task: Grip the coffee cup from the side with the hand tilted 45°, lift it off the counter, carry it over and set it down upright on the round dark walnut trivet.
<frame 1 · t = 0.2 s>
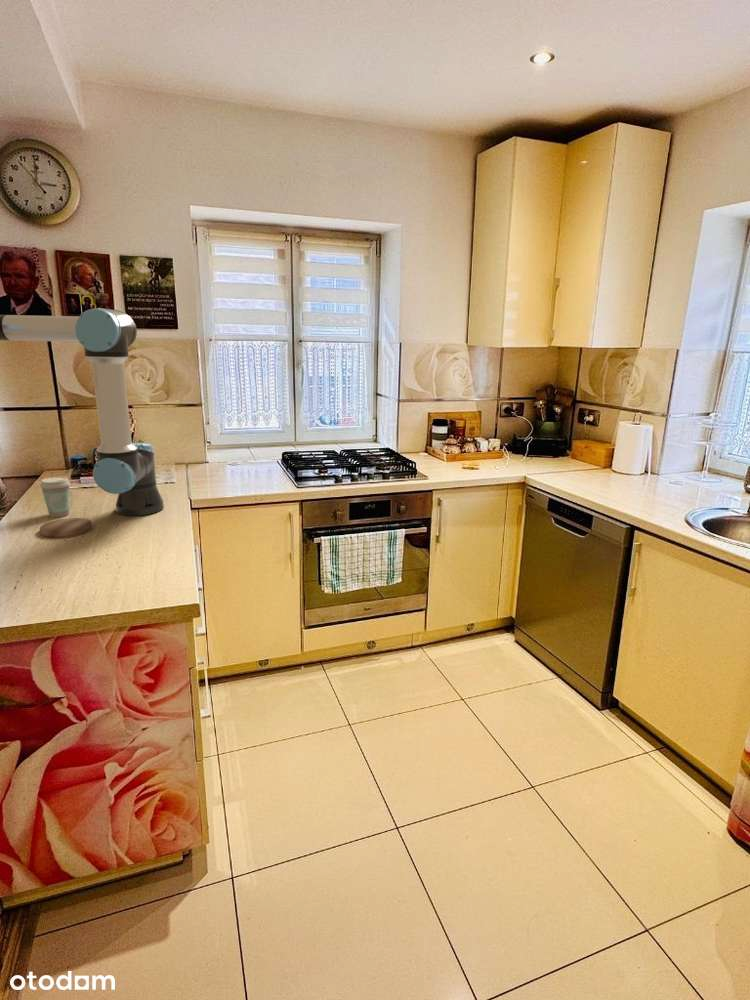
coffee cup: (59, 515, 183), on the countertop
walnut trivet: (66, 529, 170), on the countertop
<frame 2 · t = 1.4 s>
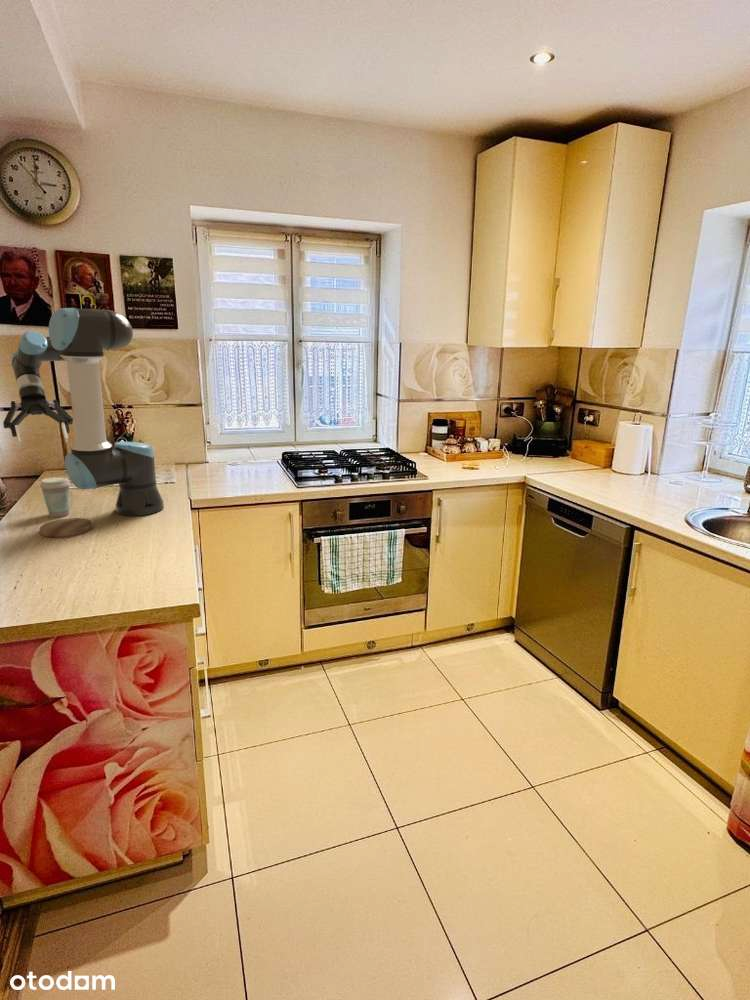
hand: (44, 442, 184), 23 cm above the countertop, tool tilted 45°, fingers open, 13 cm apart
nothing on the countertop moved.
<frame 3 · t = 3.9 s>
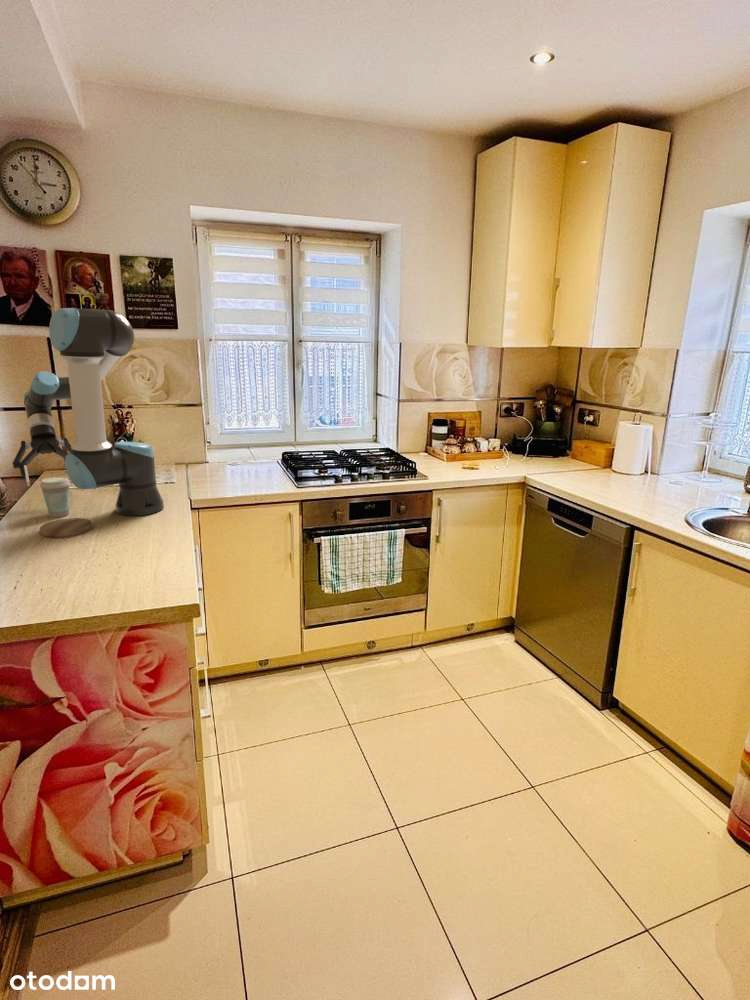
hand: (52, 481, 184), 10 cm above the countertop, tool tilted 45°, fingers open, 13 cm apart
nothing on the countertop moved.
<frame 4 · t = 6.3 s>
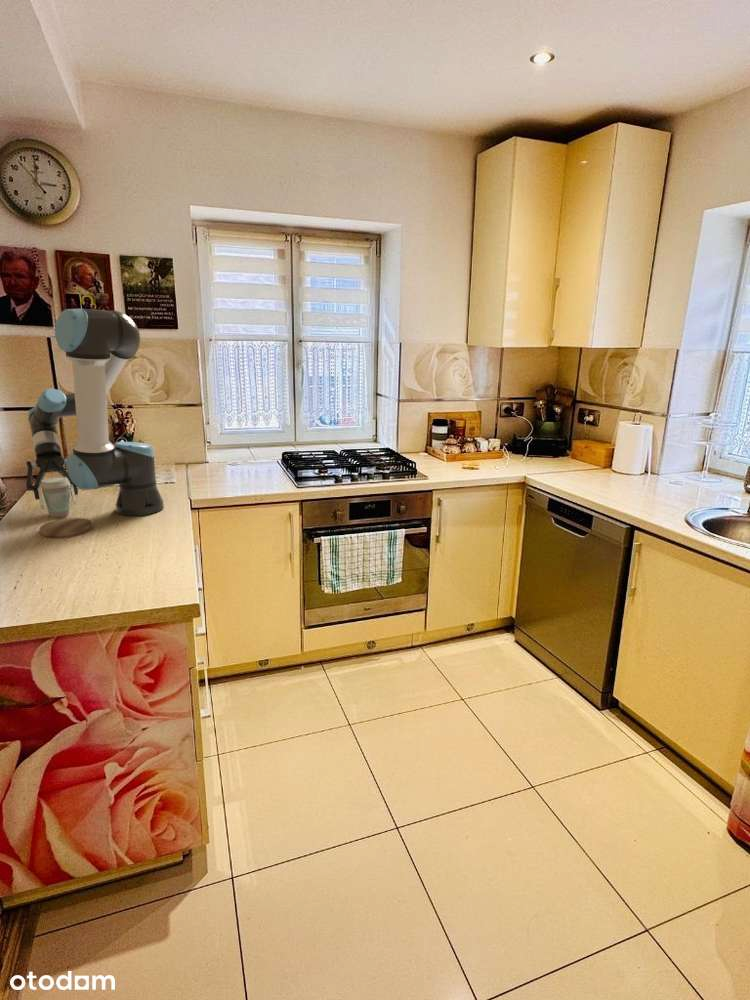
hand: (58, 504, 179), 4 cm above the countertop, tool tilted 45°, fingers closed on coffee cup, 8 cm apart
coffee cup: (59, 515, 183), on the countertop, touching gripper
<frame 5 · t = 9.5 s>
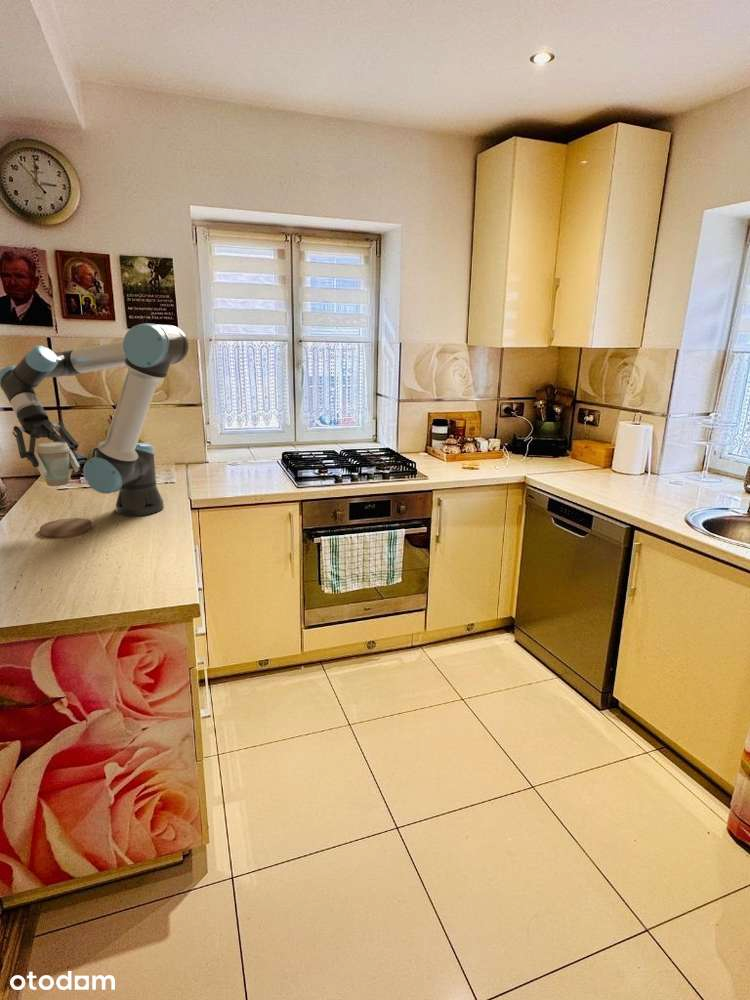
hand: (61, 471, 163), 19 cm above the countertop, tool tilted 45°, fingers closed on coffee cup, 8 cm apart
coffee cup: (58, 484, 166), point 14 cm above the countertop, touching gripper
when the fingers open (7 cm above the countertop, at t = 12.9 s): coffee cup drops 1 cm, resting on walnut trivet.
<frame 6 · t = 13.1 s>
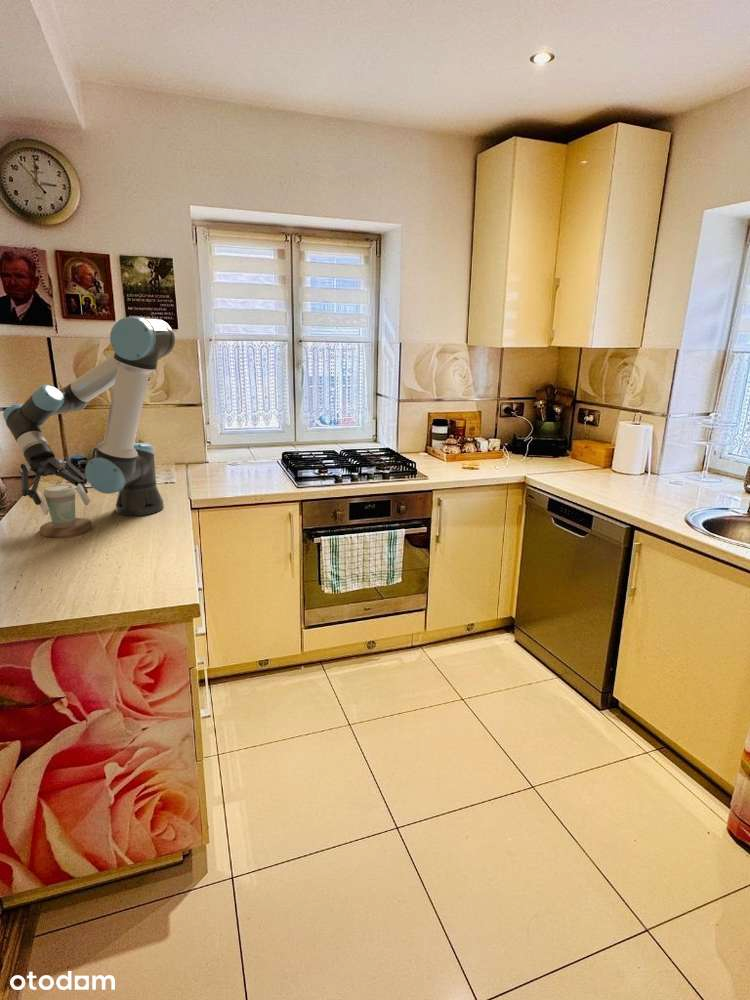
hand: (68, 507, 166), 8 cm above the countertop, tool tilted 45°, fingers open, 11 cm apart
coffee cup: (64, 526, 169), point 1 cm above the countertop, touching walnut trivet
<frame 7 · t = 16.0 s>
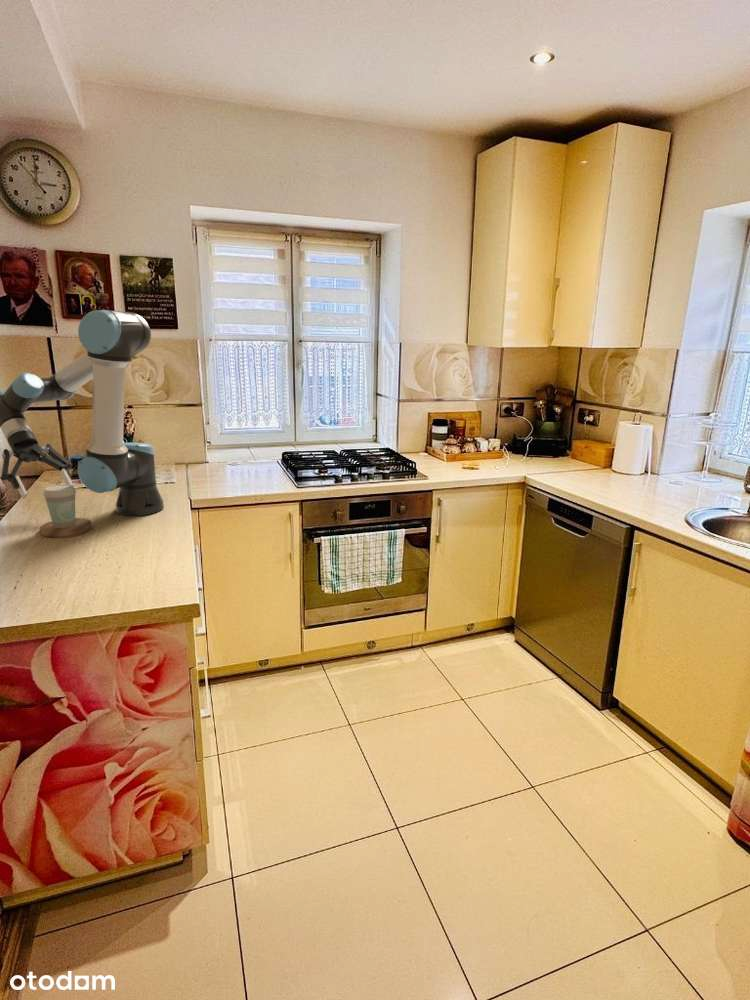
hand: (48, 491, 172), 10 cm above the countertop, tool tilted 45°, fingers open, 13 cm apart
nothing on the countertop moved.
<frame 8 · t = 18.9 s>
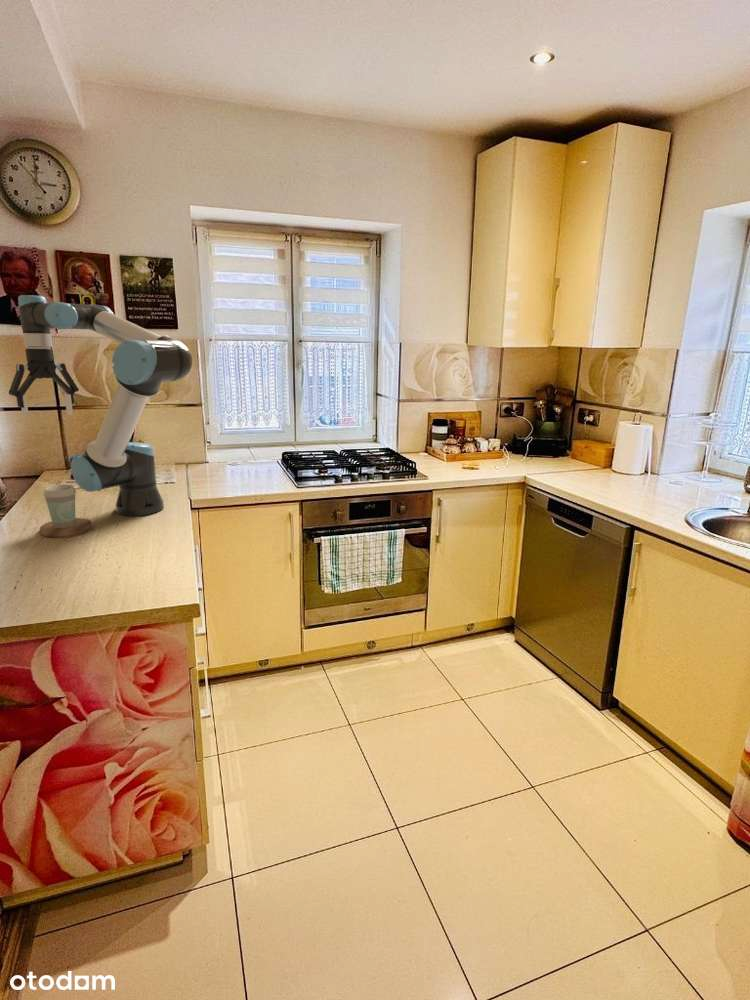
hand: (48, 415, 180), 32 cm above the countertop, tool pointing down, fingers open, 13 cm apart
nothing on the countertop moved.
at the end: coffee cup 0.4 cm from the walnut trivet (horizontally); coffee cup tilted 0°; coffee cup touching walnut trivet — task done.
